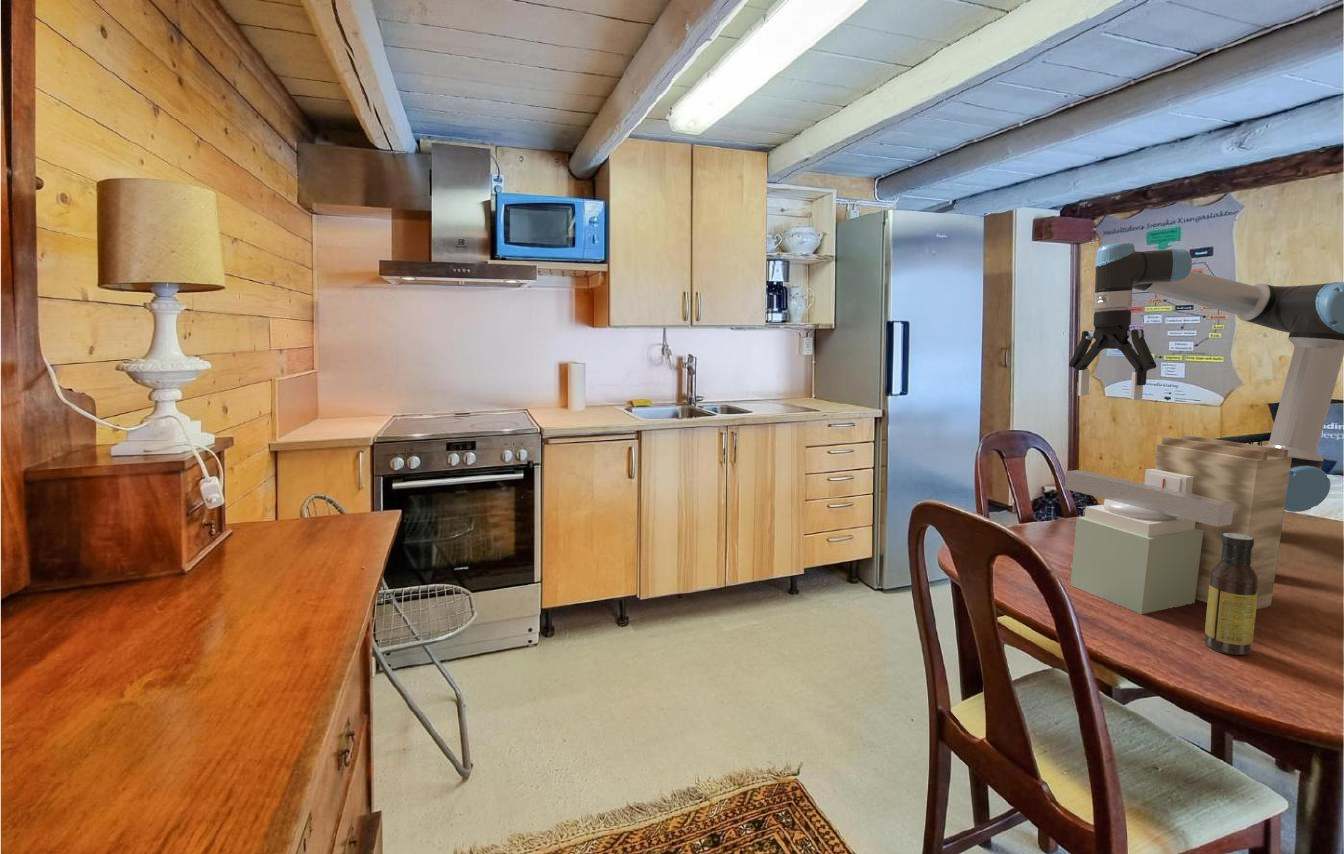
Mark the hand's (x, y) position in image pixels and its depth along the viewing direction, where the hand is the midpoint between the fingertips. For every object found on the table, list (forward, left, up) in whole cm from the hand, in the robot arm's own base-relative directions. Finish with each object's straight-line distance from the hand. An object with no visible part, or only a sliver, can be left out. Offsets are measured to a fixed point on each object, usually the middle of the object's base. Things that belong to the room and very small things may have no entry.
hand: (1108, 397), depth 159 cm
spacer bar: (+4, +34, -19) cm, 39 cm away
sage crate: (+4, +34, -38) cm, 51 cm away
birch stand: (-11, +29, -38) cm, 49 cm away
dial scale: (+4, +34, -23) cm, 41 cm away
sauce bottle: (-3, +56, -38) cm, 67 cm away
